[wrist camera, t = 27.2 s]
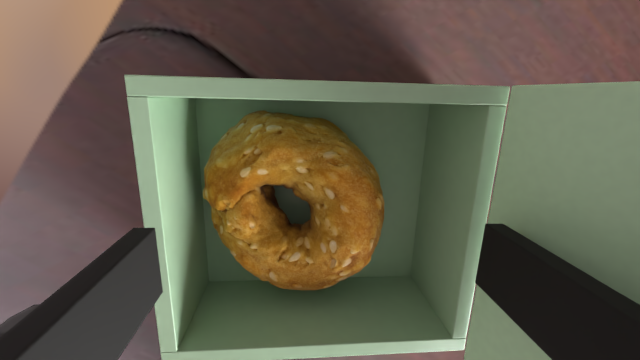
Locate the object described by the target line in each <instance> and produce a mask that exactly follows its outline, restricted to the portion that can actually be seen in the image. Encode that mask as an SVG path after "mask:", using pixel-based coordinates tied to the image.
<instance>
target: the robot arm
mask: <svg viewBox="0 0 640 360" xmlns="http://www.w3.org/2000/svg"><path fill="white" fill-rule="evenodd" d="M475 283H476V284H477V285H478V286H479V287H480V288H481V289H482V290H483V291H484V292H485V293H486V294H487V295H488V296H489V297H490V298H491V299H492V300H493V301H494V302H495V303H496V304H497V305H498V306H499V307H500V308H501V309H502V310H503V311H504V312H505V313H506V314H507V315H508V316H509V317H510V318H511V319H512V320H513V321H514V322H515V323H516V324H517V325H518V326H519V327H520V328H521V329H522V330H523V331H524V332H525V333H526V334H527V335H528V336H529V337H530V338H531V339H532V340H533V341H534V342H535V343H536V344H537V345H538V346H539V347H540V348H541V349H542V350H543V351H544V352H545V353H546V354H547V355H548V356H549V357H550V358H551V359H552V360H640V305H639V304H638V303H636V302H634V301H633V300H631V299H629V298H628V297H626V296H624V295H622V294H620V293H619V292H617V291H615V290H614V289H612V288H610V287H609V286H607V285H605V284H604V283H602V282H600V281H599V280H597V279H595V278H594V277H592V276H590V275H589V274H587V273H585V272H583V271H582V270H580V269H578V268H577V267H575V266H573V265H572V264H570V263H568V262H567V261H565V260H563V259H562V258H560V257H558V256H557V255H555V254H553V253H552V252H550V251H548V250H546V249H545V248H543V247H541V246H540V245H538V244H536V243H535V242H533V241H531V240H530V239H528V238H526V237H525V236H523V235H521V234H520V233H518V232H516V231H515V230H513V229H511V228H509V227H508V226H506V225H504V224H485V228H484V234H483V240H482V246H481V251H480V257H479V263H478V269H477V274H476V280H475ZM162 292H163V289H162V281H161V272H160V264H159V256H158V248H157V240H156V231H155V228H133V229H132V230H130V231H129V232H128V233H127V234H126V235H124V236H123V237H122V238H121V239H119V240H118V241H117V242H116V243H115V244H113V245H112V246H111V247H110V248H109V249H107V250H106V251H105V252H104V253H102V254H101V255H100V256H99V257H98V258H96V259H95V260H94V261H93V262H91V263H90V264H89V265H88V266H87V267H85V268H84V269H83V270H82V271H80V272H79V273H78V274H77V275H76V276H74V277H73V278H72V279H71V280H69V281H68V282H67V283H66V284H65V285H63V286H62V287H61V288H60V289H58V290H57V291H56V292H55V293H54V294H52V295H51V296H50V297H49V298H47V299H46V300H45V301H44V302H43V303H41V304H39V305H33V306H31V307H29V308H27V309H25V310H23V311H22V312H20V313H18V314H16V315H14V316H12V317H10V318H9V319H7V320H6V321H5V322H3V323H2V324H1V325H0V360H118V358H119V357H120V355H121V354H122V352H123V351H124V349H125V348H126V346H127V345H128V343H129V342H130V340H131V339H132V337H133V336H134V334H135V333H136V331H137V330H138V328H139V327H140V325H141V324H142V322H143V321H144V319H145V318H146V316H147V315H148V313H149V312H150V310H151V309H152V307H153V306H154V304H155V303H156V301H157V300H158V298H159V297H160V295H161V294H162Z"/></svg>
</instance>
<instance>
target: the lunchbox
mask: <svg viewBox="0 0 640 360" xmlns="http://www.w3.org/2000/svg"><path fill="white" fill-rule="evenodd" d="M124 78H125V86H126V93H127V96H128V97H127V102H128V109H129V117H130V124H131V132H132V140H133V147H134V155H135V162H136V170H137V178H138V185H139V193H140V200H141V208H142V216H143V223H144V228H155V231H156V240H157V248H158V256H159V264H160V272H161V281H162V289H163V292H162V294H161V295H160V297H159V298H158V300H157V301H156V303H155V304H154V307H155V314H156V322H157V330H158V337H159V345H160V352H161V360H280V359H299V358H319V357H338V356H358V355H378V354H397V353H417V352H436V351H456V350H464V347H465V341H466V335H467V329H468V324H469V318H470V312H471V306H472V301H473V295H474V289H475V284H476V283H475V280H476V274H477V269H478V263H479V257H480V251H481V246H482V240H483V234H484V228H485V224H486V221H487V215H488V209H489V204H490V198H491V192H492V186H493V181H494V175H495V169H496V163H497V158H498V152H499V146H500V141H501V135H502V129H503V123H504V118H505V112H506V106H505V105H507V101H508V95H509V90H510V87H509V86H483V85H451V84H418V83H386V82H353V81H321V80H288V79H256V78H223V77H191V76H158V75H124ZM262 110H264V111H267V112H271V113H276V112H279V113H286V114H292V115H294V116H300V117H308V118H312V117H315V118H322V119H326V120H328V121H330V122H332V123H333V124H335V125H336V126H337V127H339V128H340V129H341V130H342V131H343V132H344V133H346V134H347V136H348V138H349V140H350V141H352V142H353V143H354V144H355V145H356V146H357V147H358V148H359V149H360V150H361V152H362V153H363V154H364V155H365V156H366V157H367V158H368V160H369V161H370V162H371V163H372V164H373V165H374V167H375V170H376V171H377V173H378V175H379V180H380V186H381V189H382V192H383V198H384V221H383V226H382V229H381V236H380V237H379V241H378V244H377V246H376V248H375V249H374V253H373V254H372V256H371V261H370V262H369V263H368V264H367V265H366V266H365V267H364V268H363V269H362V270H361V271H360V272H358V273H356V274H354V275H352V276H350V277H348V278H347V279H345V280H342V281H339V282H338V283H337V284H335V285H333V286H331V287H328V288H324V289H319V290H304V291H303V290H289V289H282V288H279V287H277V286H275V285H272V284H270V283H269V281H262V280H260V279H259V278H258V277H256V276H254V275H253V274H251V273H250V272H249V271H247V270H246V269H245V268H243V266H242V265H241V264H240V263H238V262H237V261H236V259H235V258H234V256H233V255H232V254H231V253H230V250H229V249H228V248H227V247H226V246H225V245H224V244H223V243H222V241H221V239H220V237H219V235H218V232H217V230H216V229H215V228H214V226H213V221H212V218H211V206H210V204H209V202H208V201H207V200H206V199H204V198H203V190H204V187H205V180H204V168H205V166H206V164H207V162H208V160H209V157H210V154H211V150H212V148H213V147H214V146H215V145H216V144H217V143H218V142H219V140H220V139H221V137H222V136H223V135H224V134H225V133H226V132H227V131H228V129H229V128H230V127H233V126H235V125H236V124H237V123H238V122H239V121H240V120H241V119H242V118H243V117H244V116H245V115H247V114H248V113H252V112H256V111H262ZM273 187H274V189H275V197H276V199H277V202H278V204H279V207H280V208H281V209H282V210H283V211H284V213H285V214H286V215H287V217H288V219H289V221H290V223H291V224H293V223H296V224H304V223H305V222H307V221H308V220H310V216H311V213H310V207H309V204H308V202H306V201H304V200H302V199H300V198H299V197H297V196H295V195H294V193H293V191H292V189H286V188H285V187H284V186H273Z"/></svg>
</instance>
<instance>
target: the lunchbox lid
mask: <svg viewBox="0 0 640 360" xmlns="http://www.w3.org/2000/svg"><path fill="white" fill-rule="evenodd" d="M488 224H504V225H506V226H508V227H509V228H511V229H513V230H515V231H516V232H518V233H520V234H521V235H523V236H525V237H526V238H528V239H530V240H531V241H533V242H535V243H536V244H538V245H540V246H541V247H543V248H545V249H546V250H548V251H550V252H552V253H553V254H555V255H557V256H558V257H560V258H562V259H563V260H565V261H567V262H568V263H570V264H572V265H573V266H575V267H577V268H578V269H580V270H582V271H583V272H585V273H587V274H589V275H590V276H592V277H594V278H595V279H597V280H599V281H600V282H602V283H604V284H605V285H607V286H609V287H610V288H612V289H614V290H615V291H617V292H619V293H620V294H622V295H624V296H626V297H628V298H629V299H631V300H633V301H634V302H636V303H638V304H639V305H640V81H636V82H605V83H575V84H544V85H514V86H512V89H511V94H510V100H509V106H508V111H507V117H506V123H505V128H504V134H503V140H502V145H501V151H500V157H499V162H498V168H497V174H496V179H495V185H494V191H493V196H492V202H491V208H490V213H489V219H488ZM464 360H552V359H551V358H550V357H549V356H548V355H547V354H546V353H545V352H544V351H543V350H542V349H541V348H540V347H539V346H538V345H537V344H536V343H535V342H534V341H533V340H532V339H531V338H530V337H529V336H528V335H527V334H526V333H525V332H524V331H523V330H522V329H521V328H520V327H519V326H518V325H517V324H516V323H515V322H514V321H513V320H512V319H511V318H510V317H509V316H508V315H507V314H506V313H505V312H504V311H503V310H502V309H501V308H500V307H499V306H498V305H497V304H496V303H495V302H494V301H493V300H492V299H491V298H490V297H489V296H488V295H487V294H486V293H485V292H484V291H483V290H482V289H481V288H480V287H479V286H478V285H477V287H476V293H475V299H474V304H473V310H472V316H471V321H470V327H469V333H468V338H467V344H466V350H465V355H464Z"/></svg>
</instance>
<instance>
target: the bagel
mask: <svg viewBox="0 0 640 360" xmlns="http://www.w3.org/2000/svg"><path fill="white" fill-rule="evenodd" d="M204 180H205V187H204V190H203V198H204V199H206V200H207V201H208V202H209V204H210V206H211V218H212V221H213V226H214V228H215V229H216V230H217V232H218V235H219V237H220V239H221V241H222V243H223V244H224V245H225V246H226V247H227V248H228V249H229V250H230V253H231V254H232V255H233V256H234V258H235V259H236V261H237V262H238V263H240V264H241V265H242V266H243V268H245V269H246V270H247V271H249V272H250V273H251V274H253V275H254V276H256V277H258V278H259V279H260V280H262V281H269V283H270V284H272V285H275V286H277V287H279V288H282V289H289V290H303V291H304V290H319V289H324V288H328V287H331V286H333V285H335V284H337V283H338V282H339V281H342V280H345V279H347V278H348V277H350V276H352V275H354V274H356V273H358V272H360V271H361V270H362V269H363V268H364V267H365V266H366V265H367V264H368V263H369V262H370V261H371V256H372V254H373V253H374V249H375V248H376V246H377V244H378V241H379V237H380V236H381V229H382V226H383V221H384V198H383V192H382V189H381V186H380V180H379V175H378V173H377V171H376V170H375V167H374V165H373V164H372V163H371V162H370V161H369V160H368V158H367V157H366V156H365V155H364V154H363V153H362V152H361V150H360V149H359V148H358V147H357V146H356V145H355V144H354V143H353V142H352V141H350V140H349V138H348V136H347V134H346V133H344V132H343V131H342V130H341V129H340V128H339V127H337V126H336V125H335V124H333V123H332V122H330V121H328V120H326V119H322V118H315V117H312V118H308V117H300V116H294V115H292V114H286V113H279V112H276V113H271V112H267V111H264V110H262V111H256V112H252V113H248V114H247V115H245V116H244V117H243V118H242V119H241V120H240V121H239V122H238V123H237V124H236V125H235V126H233V127H230V128H229V129H228V131H227V132H226V133H225V134H224V135H223V136H222V137H221V139H220V140H219V142H218V143H217V144H216V145H215V146H214V147H213V148H212V150H211V154H210V157H209V160H208V162H207V164H206V166H205V168H204ZM273 186H284V187H285V188H286V189H292V191H293V193H294V195H295V196H297V197H299V198H300V199H302V200H304V201H306V202H308V204H309V207H310V213H311V216H310V220H308V221H307V222H305V223H304V224H296V223H293V224H291V223H290V221H289V219H288V217H287V215H286V214H285V213H284V211H283V210H282V209H281V208H280V207H279V204H278V202H277V199H276V197H275V189H274V187H273Z"/></svg>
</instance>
